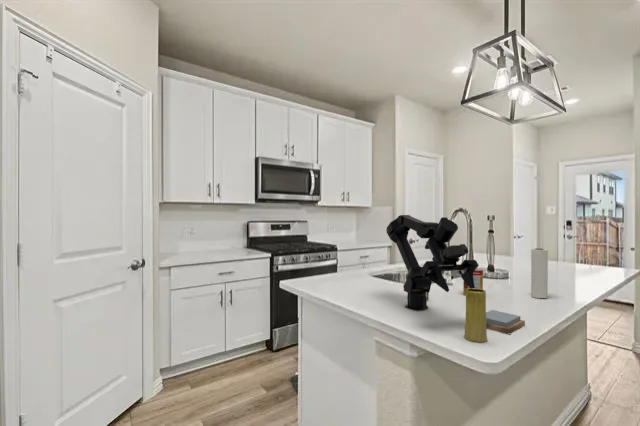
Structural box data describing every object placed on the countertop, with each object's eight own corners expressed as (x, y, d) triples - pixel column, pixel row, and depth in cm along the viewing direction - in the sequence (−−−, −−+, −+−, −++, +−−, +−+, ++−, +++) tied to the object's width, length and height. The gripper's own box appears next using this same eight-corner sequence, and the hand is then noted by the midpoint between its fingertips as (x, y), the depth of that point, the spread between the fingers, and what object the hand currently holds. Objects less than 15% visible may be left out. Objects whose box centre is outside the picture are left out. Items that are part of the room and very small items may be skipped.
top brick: (477, 320, 112) (477, 315, 112) (492, 314, 118) (492, 309, 118) (506, 327, 105) (506, 322, 105) (520, 320, 112) (520, 316, 112)
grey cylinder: (544, 300, 144) (544, 249, 144) (528, 297, 149) (529, 248, 149) (550, 297, 149) (550, 248, 149) (535, 294, 154) (535, 247, 154)
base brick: (472, 324, 112) (472, 320, 112) (490, 317, 120) (490, 313, 120) (508, 334, 103) (508, 329, 103) (524, 325, 111) (524, 320, 111)
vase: (460, 338, 99) (461, 290, 99) (469, 333, 104) (469, 286, 104) (482, 344, 95) (482, 293, 95) (490, 338, 99) (490, 290, 99)
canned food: (479, 293, 155) (479, 267, 155) (485, 297, 147) (485, 270, 147) (461, 293, 156) (461, 267, 156) (466, 297, 148) (466, 269, 148)
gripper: (425, 236, 109) (446, 276, 98) (474, 235, 113) (500, 274, 103) (412, 257, 116) (430, 297, 106) (459, 256, 121) (481, 294, 110)
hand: (461, 290), depth 106 cm, fingers open, 9 cm apart
